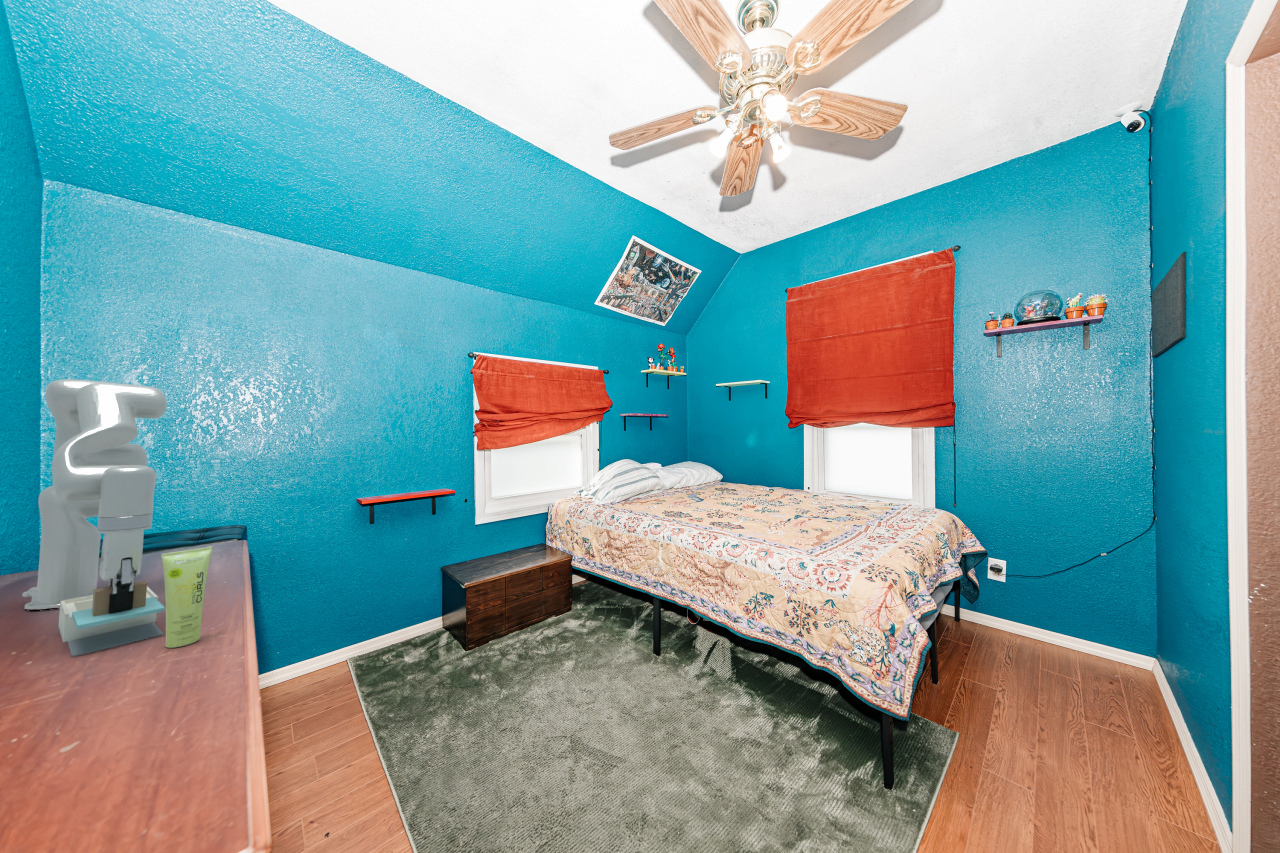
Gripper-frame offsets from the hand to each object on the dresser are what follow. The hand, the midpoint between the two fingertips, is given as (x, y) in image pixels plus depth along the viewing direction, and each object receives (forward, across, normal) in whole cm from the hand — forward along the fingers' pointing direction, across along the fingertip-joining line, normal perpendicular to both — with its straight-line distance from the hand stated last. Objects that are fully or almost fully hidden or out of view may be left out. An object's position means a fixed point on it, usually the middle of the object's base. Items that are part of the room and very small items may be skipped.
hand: (119, 608), depth 90 cm
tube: (+7, +14, +7) cm, 17 cm away
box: (+6, -14, 0) cm, 15 cm away
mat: (+6, 0, 0) cm, 6 cm away
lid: (+1, 0, 0) cm, 1 cm away
